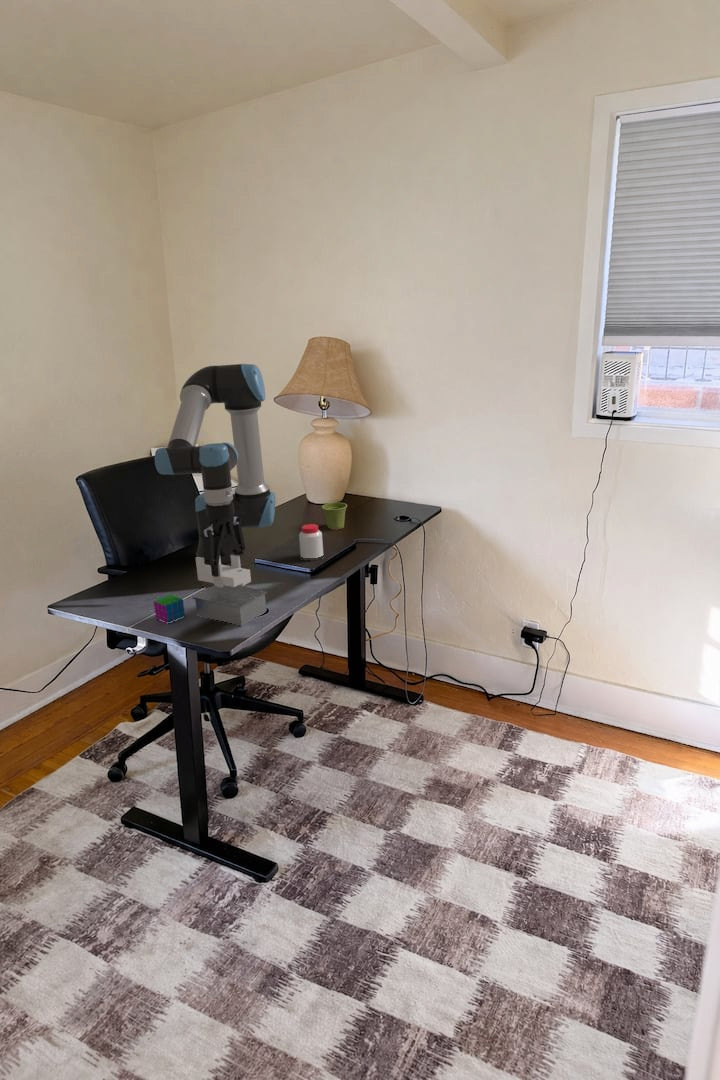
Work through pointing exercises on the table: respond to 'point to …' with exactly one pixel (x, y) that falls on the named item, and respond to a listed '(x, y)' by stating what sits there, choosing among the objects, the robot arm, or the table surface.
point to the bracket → (223, 574)
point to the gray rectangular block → (231, 604)
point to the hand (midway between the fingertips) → (228, 581)
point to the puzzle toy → (169, 608)
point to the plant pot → (335, 515)
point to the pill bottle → (311, 541)
